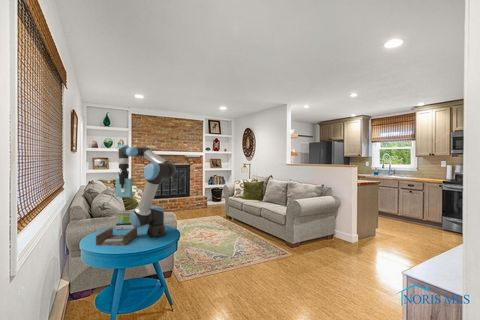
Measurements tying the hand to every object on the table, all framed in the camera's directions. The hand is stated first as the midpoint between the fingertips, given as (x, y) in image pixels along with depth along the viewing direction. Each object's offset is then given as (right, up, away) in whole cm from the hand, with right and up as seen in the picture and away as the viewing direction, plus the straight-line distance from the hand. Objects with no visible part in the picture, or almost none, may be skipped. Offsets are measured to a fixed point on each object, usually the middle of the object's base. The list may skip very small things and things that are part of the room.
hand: (124, 191), depth 200 cm
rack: (+5, -35, -21) cm, 41 cm away
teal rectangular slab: (0, -4, 0) cm, 4 cm away
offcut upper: (+5, -33, -26) cm, 42 cm away
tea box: (-6, -35, +17) cm, 39 cm away
